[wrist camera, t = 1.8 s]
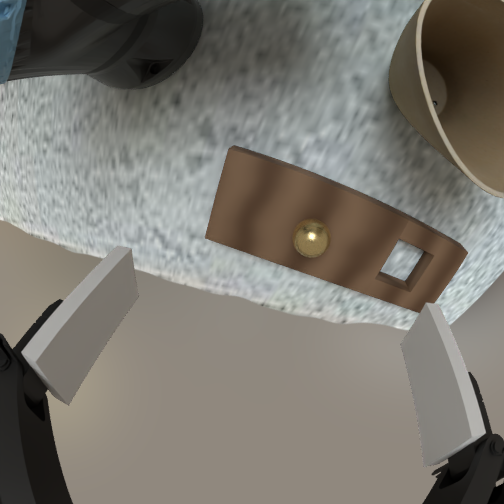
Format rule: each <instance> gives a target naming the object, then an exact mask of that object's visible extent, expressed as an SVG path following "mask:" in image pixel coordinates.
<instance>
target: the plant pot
mask: <svg viewBox="0 0 504 504" xmlns="http://www.w3.org/2000/svg"><path fill="white" fill-rule="evenodd" d="M389 86H390V91H391V94H392V96H393V99H394V101H395V103H396V105H397V106H398V108H399V110H400V111H401V112H402V114H403V115H404V116H405V118H406V119H407V120H408V121H409V123H410V124H411V125H412V126H413V127H414V128H415V129H416V130H417V132H418V133H419V134H420V135H421V136H422V137H423V138H424V139H425V140H426V141H428V142H429V143H430V144H431V145H432V146H433V147H434V148H435V149H436V150H437V151H438V152H439V153H441V154H442V155H443V156H444V157H445V158H446V159H447V160H449V161H450V162H451V163H452V164H453V165H454V166H456V167H457V168H458V169H459V170H460V171H461V172H463V173H464V174H465V175H466V176H467V177H468V178H469V179H470V180H471V181H472V182H474V183H475V184H476V185H477V186H479V187H480V188H481V189H483V190H484V191H486V192H488V193H489V194H492V195H494V196H497V197H500V198H504V0H424V2H423V3H422V4H421V5H420V7H419V8H418V9H417V11H416V12H415V14H414V15H413V16H412V18H411V19H410V21H409V22H408V24H407V25H406V27H405V29H404V30H403V32H402V34H401V36H400V38H399V40H398V43H397V45H396V47H395V50H394V53H393V56H392V59H391V64H390V69H389ZM433 101H435V102H436V103H437V104H436V105H434V104H433Z"/></svg>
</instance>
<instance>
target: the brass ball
mask: <svg viewBox="0 0 504 504" xmlns="http://www.w3.org/2000/svg"><path fill="white" fill-rule="evenodd" d="M292 240H293V245H294V247H295V249H296V250H297V251H298V252H299V253H300V254H301V255H303V256H305V257H310V258H314V257H318V256H320V255H322V254H324V253H325V252H326V251H327V249H328V248H329V246H330V242H331V234H330V231H329V229H328V227H327V226H326V225H325V224H324V223H323V222H322V221H320V220H317V219H306V220H303V221H301V222H300V223H299V224H298V225H297V226H296V227H295V229H294V231H293V236H292Z"/></svg>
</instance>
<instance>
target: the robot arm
mask: <svg viewBox="0 0 504 504" xmlns="http://www.w3.org/2000/svg"><path fill="white" fill-rule="evenodd" d="M202 24H203V15H202V10H201V6H200V4H199V2H198V0H0V84H4V83H6V81H11V80H17V79H24V78H32V77H41V76H52V75H69V74H87V75H88V76H90V77H92V78H94V79H96V80H98V81H99V82H101V83H103V84H105V85H107V86H110V87H113V88H118V89H140V88H145V87H149V86H152V85H154V84H157V83H159V82H161V81H163V80H164V79H166V78H168V77H169V76H170V75H172V74H173V73H174V72H175V71H177V70H178V69H179V68H180V67H181V66H182V65H183V64H184V63H185V61H186V60H187V59H188V58H189V56H190V55H191V53H192V52H193V50H194V48H195V47H196V45H197V42H198V40H199V37H200V34H201V30H202ZM138 297H139V295H138V289H137V283H136V277H135V271H134V264H133V257H132V249H131V248H126V247H122V246H117V247H115V248H114V249H113V250H112V251H111V252H110V253H109V254H108V255H107V256H106V257H105V258H104V259H103V260H102V261H101V262H100V263H99V264H98V265H97V266H96V267H95V268H94V269H93V270H92V271H91V272H90V273H89V274H88V275H87V276H86V278H84V280H83V281H82V282H81V283H80V284H79V285H78V286H77V287H76V288H75V289H74V290H73V291H72V292H71V293H70V294H69V296H68V297H67V298H66V299H65V300H64V301H63V300H61V299H59V300H58V301H56V302H54V303H53V304H51V305H50V306H49V307H48V308H47V309H46V310H45V311H44V312H43V313H42V316H40V317H39V318H38V319H37V320H36V323H34V324H33V325H32V326H31V328H30V329H29V330H28V331H27V332H26V334H25V335H24V336H23V337H22V338H21V340H20V341H19V342H18V343H17V345H16V346H15V347H14V348H13V349H12V348H11V347H10V346H9V344H8V342H7V341H6V339H5V338H4V336H3V335H2V334H0V504H73V503H72V500H71V498H70V495H69V492H68V489H67V486H66V483H65V480H64V476H63V473H62V469H61V466H60V462H59V458H58V454H57V450H56V446H55V441H54V436H53V431H52V426H51V420H50V413H49V406H48V399H47V396H46V394H45V393H46V391H47V390H49V391H50V392H51V394H52V395H53V396H54V397H55V398H57V399H58V400H60V401H62V402H63V403H65V404H67V405H69V404H70V402H71V401H72V399H73V397H74V396H75V394H76V392H77V391H78V389H79V387H80V385H81V384H82V382H83V381H84V379H85V377H86V376H87V374H88V372H89V370H90V369H91V367H92V366H93V364H94V363H95V361H96V360H97V358H98V356H99V355H100V353H101V352H102V350H103V349H104V347H105V345H106V344H107V342H108V341H109V339H110V338H111V336H112V335H113V333H114V332H115V330H116V329H117V327H118V326H119V324H120V323H121V321H122V320H123V319H124V317H125V316H126V314H127V313H128V311H129V310H130V308H131V307H132V306H133V304H134V303H135V301H136V300H137V298H138ZM401 348H402V352H403V356H404V360H405V364H406V368H407V371H408V376H409V380H410V385H411V389H412V394H413V398H414V404H415V409H416V415H417V421H418V427H419V434H420V440H421V448H422V457H423V467H427V466H431V465H436V464H439V463H441V462H443V461H444V460H446V459H448V462H449V463H447V464H445V465H444V466H442V467H440V468H438V469H436V470H435V471H434V472H433V473H432V475H435V474H437V473H439V472H441V473H440V474H438V475H437V476H436V478H438V479H437V481H436V482H435V484H434V486H433V487H432V489H431V491H430V493H429V494H428V496H427V497H426V499H425V501H424V502H423V504H504V483H503V484H501V485H499V486H497V487H496V482H497V481H498V480H500V479H502V478H504V440H503V438H502V437H501V436H500V435H498V434H492V431H491V427H490V423H489V419H488V416H487V412H486V409H485V405H484V402H482V400H483V399H482V396H481V394H480V390H479V387H478V384H477V381H476V380H475V378H474V377H473V375H472V374H471V373H470V372H467V369H466V366H465V364H464V361H463V358H462V356H461V353H460V351H459V348H458V346H457V344H456V341H455V339H454V337H453V334H452V332H451V330H450V327H449V325H448V323H447V321H446V319H445V317H444V315H443V313H442V310H441V308H440V306H439V304H433V303H425V305H424V307H423V309H422V310H421V312H420V314H419V315H418V317H417V319H416V320H415V322H414V324H413V325H412V327H411V328H410V330H409V332H408V333H407V335H406V336H405V338H404V340H403V341H402V343H401Z"/></svg>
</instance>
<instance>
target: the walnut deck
mask: <svg viewBox="0 0 504 504" xmlns="http://www.w3.org/2000/svg"><path fill="white" fill-rule="evenodd" d="M306 219H317V220H320V221H322V222H323V223H324V224H325V225H326V226H327V227H328V229H329V231H330V234H331V242H330V246H329V248H328V249H327V251H326V252H325V253H324V254H322V255H320V256H318V257H314V258H310V257H305V256H303V255H301V254H300V253H299V252H298V251H297V250H296V249H295V247H294V245H293V240H292V236H293V231H294V229H295V227H296V226H297V225H298V224H299V223H300V222H301V221H303V220H306ZM205 238H206V239H209V240H211V241H214V242H217V243H220V244H223V245H226V246H229V247H231V248H234V249H237V250H240V251H243V252H246V253H248V254H251V255H254V256H257V257H260V258H263V259H266V260H268V261H271V262H274V263H277V264H280V265H283V266H286V267H289V268H291V269H294V270H297V271H300V272H303V273H306V274H309V275H311V276H314V277H317V278H320V279H323V280H326V281H329V282H332V283H334V284H337V285H340V286H343V287H346V288H349V289H352V290H355V291H358V292H360V293H363V294H366V295H369V296H372V297H375V298H378V299H381V300H384V301H386V302H389V303H392V304H395V305H398V306H401V307H404V308H407V309H410V310H412V311H415V312H418V313H420V312H421V310H422V309H423V307H424V305H425V303H433V304H434V303H435V301H436V300H437V299H438V297H439V296H440V295H441V293H442V292H443V290H444V289H445V288H446V286H447V285H448V283H449V282H450V280H451V279H452V277H453V276H454V275H455V273H456V272H457V270H458V268H459V267H460V265H461V264H462V262H463V261H464V259H465V257H466V256H467V254H468V252H467V251H466V250H465V248H464V247H463V246H462V245H461V244H460V243H458V242H457V241H455V240H453V239H452V238H450V237H448V236H446V235H445V234H443V233H441V232H439V231H437V230H436V229H434V228H432V227H430V226H428V225H426V224H425V223H423V222H421V221H419V220H417V219H415V218H413V217H411V216H409V215H407V214H405V213H403V212H401V211H399V210H397V209H395V208H393V207H391V206H389V205H387V204H385V203H383V202H381V201H379V200H376V199H374V198H372V197H370V196H368V195H365V194H363V193H361V192H359V191H357V190H354V189H352V188H350V187H347V186H345V185H343V184H340V183H338V182H335V181H333V180H331V179H328V178H326V177H323V176H321V175H318V174H316V173H313V172H310V171H308V170H305V169H302V168H300V167H297V166H294V165H292V164H289V163H286V162H283V161H281V160H278V159H275V158H272V157H269V156H266V155H263V154H260V153H257V152H254V151H251V150H248V149H244V148H241V147H238V146H235V145H234V146H232V147H231V148H229V149H228V153H227V156H226V160H225V163H224V167H223V170H222V174H221V178H220V181H219V185H218V189H217V192H216V196H215V200H214V204H213V208H212V211H211V215H210V219H209V223H208V227H207V231H206V235H205ZM398 239H401V240H403V241H405V242H407V243H409V244H411V245H414V246H416V247H418V248H420V249H422V250H424V253H423V255H422V256H421V258H420V259H419V261H418V263H417V264H416V266H415V267H414V269H413V270H412V272H411V274H410V275H409V277H408V278H407V280H406V281H403V280H400V279H398V278H395V277H393V276H390V275H388V274H385V273H382V272H380V270H381V268H382V267H383V265H384V263H385V262H386V260H387V258H388V257H389V255H390V253H391V252H392V250H393V248H394V246H395V245H396V243H397V241H398Z"/></svg>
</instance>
